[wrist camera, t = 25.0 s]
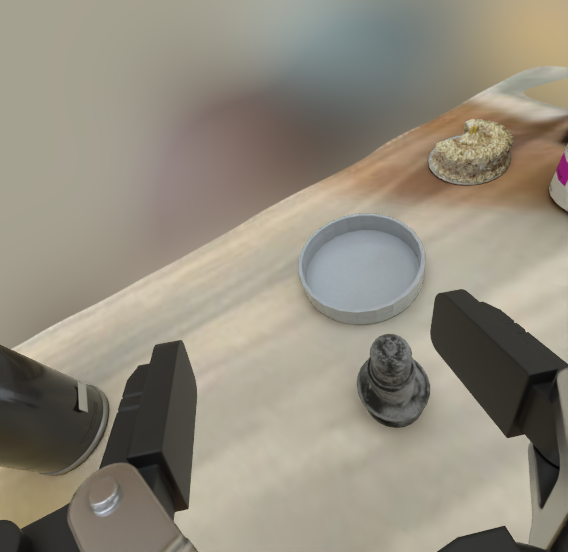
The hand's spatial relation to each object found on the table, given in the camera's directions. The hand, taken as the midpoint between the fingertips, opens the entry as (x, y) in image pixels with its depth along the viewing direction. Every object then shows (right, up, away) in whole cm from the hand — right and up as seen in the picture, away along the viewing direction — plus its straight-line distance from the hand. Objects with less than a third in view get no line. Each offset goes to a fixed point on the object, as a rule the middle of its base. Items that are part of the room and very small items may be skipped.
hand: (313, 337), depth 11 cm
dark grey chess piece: (+9, -9, +21) cm, 25 cm away
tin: (+8, +2, +30) cm, 31 cm away
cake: (+24, +17, +36) cm, 46 cm away
